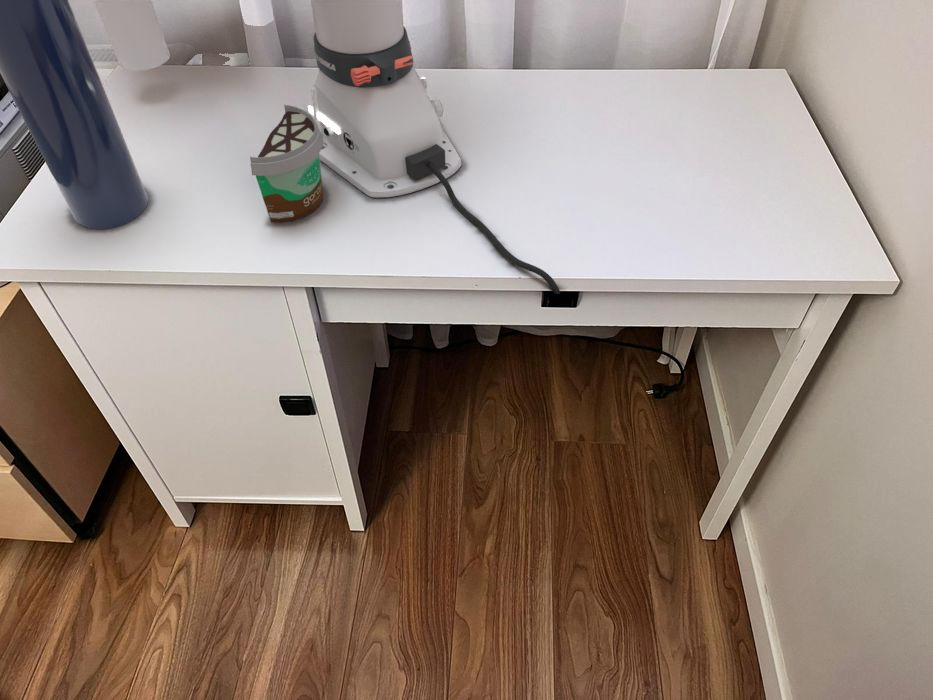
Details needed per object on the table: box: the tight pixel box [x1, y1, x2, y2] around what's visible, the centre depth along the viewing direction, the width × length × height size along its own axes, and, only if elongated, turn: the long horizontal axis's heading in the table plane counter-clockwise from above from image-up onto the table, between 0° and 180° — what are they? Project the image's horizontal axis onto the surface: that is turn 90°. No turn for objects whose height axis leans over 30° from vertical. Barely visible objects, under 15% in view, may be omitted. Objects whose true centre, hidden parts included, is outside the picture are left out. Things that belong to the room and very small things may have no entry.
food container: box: [249, 104, 324, 224], centre depth 89 cm, size 12×6×10 cm, turn 170°
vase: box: [0, 0, 149, 230], centre depth 79 cm, size 9×9×36 cm
